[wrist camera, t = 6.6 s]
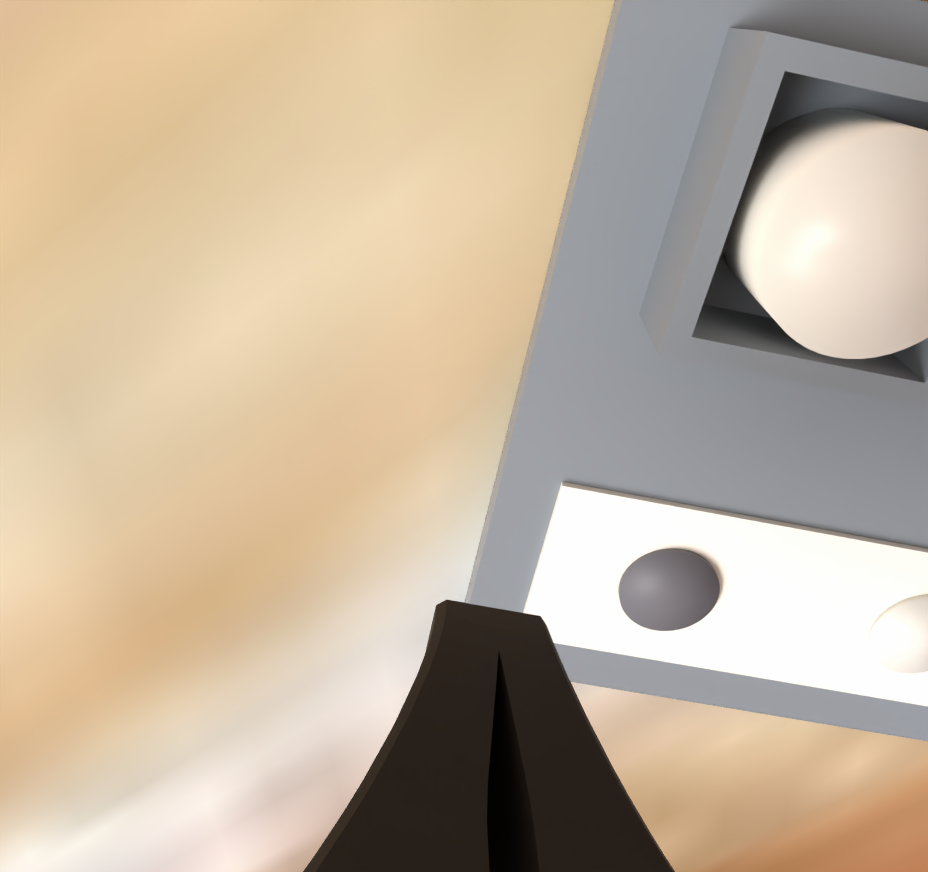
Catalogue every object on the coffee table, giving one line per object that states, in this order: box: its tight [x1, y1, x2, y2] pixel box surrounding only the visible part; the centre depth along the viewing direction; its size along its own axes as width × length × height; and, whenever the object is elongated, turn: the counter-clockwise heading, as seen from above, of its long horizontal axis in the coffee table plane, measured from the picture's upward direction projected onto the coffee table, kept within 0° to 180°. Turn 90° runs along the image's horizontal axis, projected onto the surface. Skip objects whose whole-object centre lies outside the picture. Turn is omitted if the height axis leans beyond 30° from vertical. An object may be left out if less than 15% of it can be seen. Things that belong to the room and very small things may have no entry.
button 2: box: [722, 109, 928, 359], centre depth 15 cm, size 4×4×3 cm
